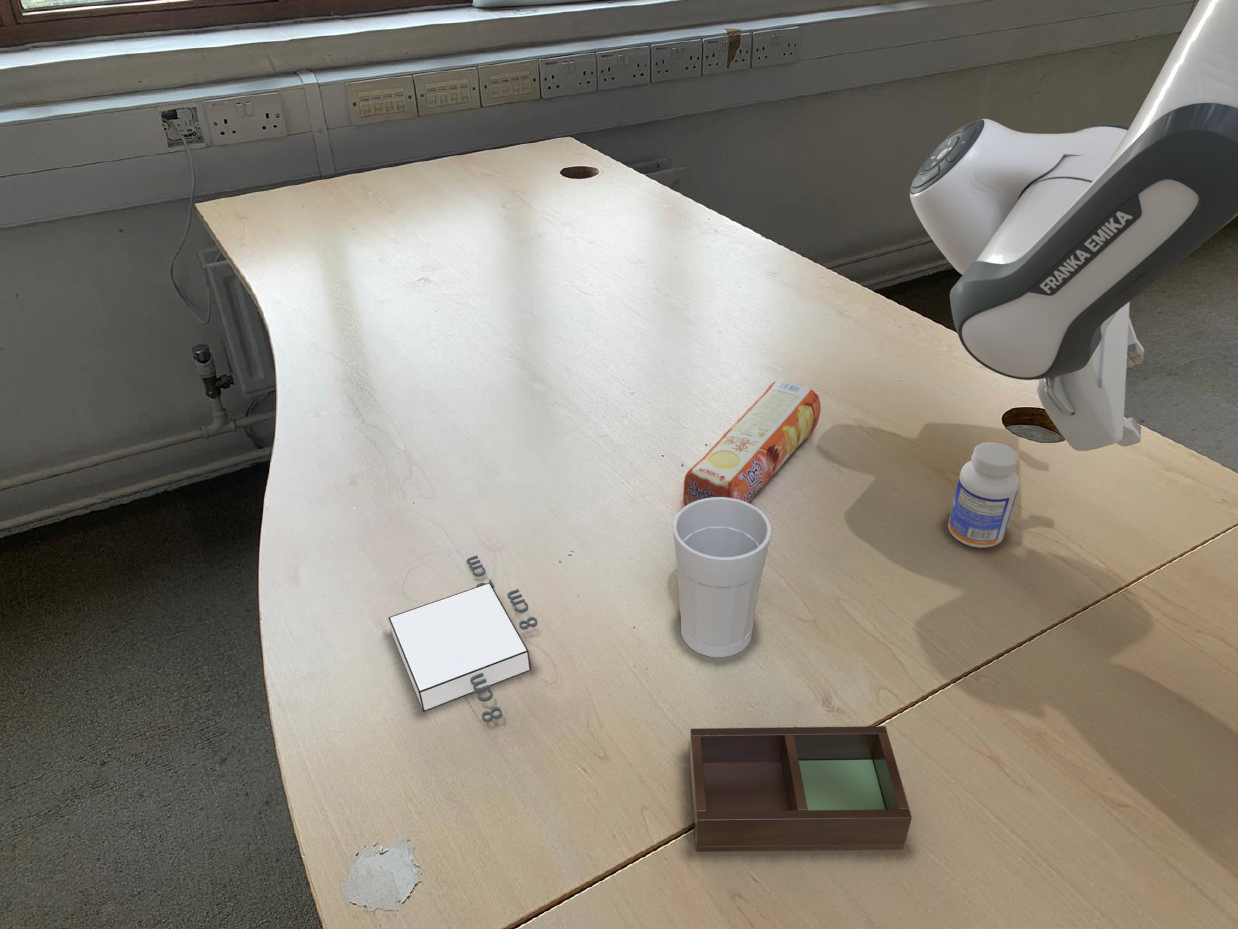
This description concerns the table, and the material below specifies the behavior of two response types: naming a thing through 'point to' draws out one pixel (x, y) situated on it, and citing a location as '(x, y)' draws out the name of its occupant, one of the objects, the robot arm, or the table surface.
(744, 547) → the cup
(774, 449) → the snack package
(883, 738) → the tray
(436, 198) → the table surface
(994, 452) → the pill bottle
